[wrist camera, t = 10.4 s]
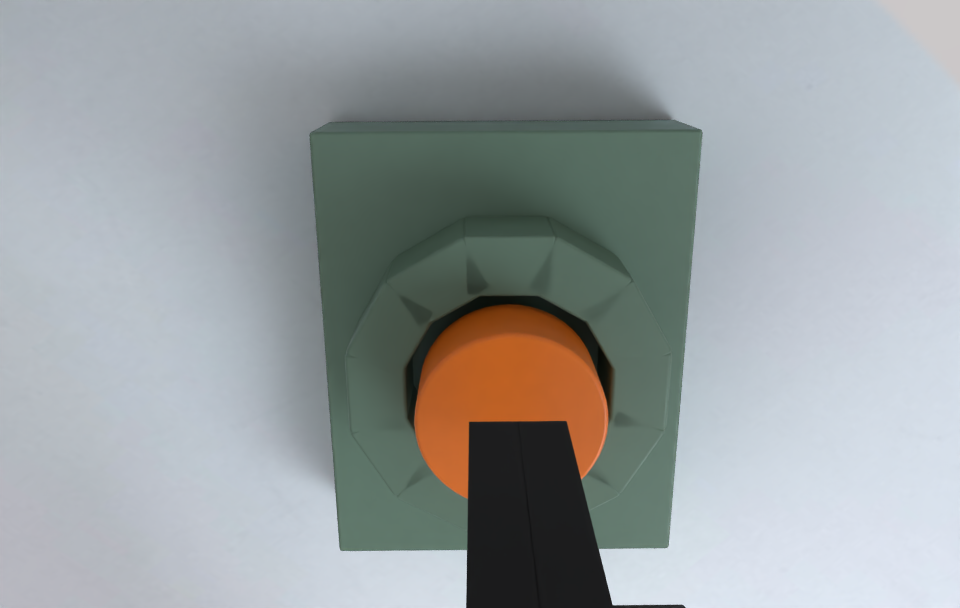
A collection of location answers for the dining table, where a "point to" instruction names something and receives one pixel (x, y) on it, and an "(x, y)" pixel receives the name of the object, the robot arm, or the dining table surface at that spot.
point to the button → (506, 386)
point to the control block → (502, 298)
